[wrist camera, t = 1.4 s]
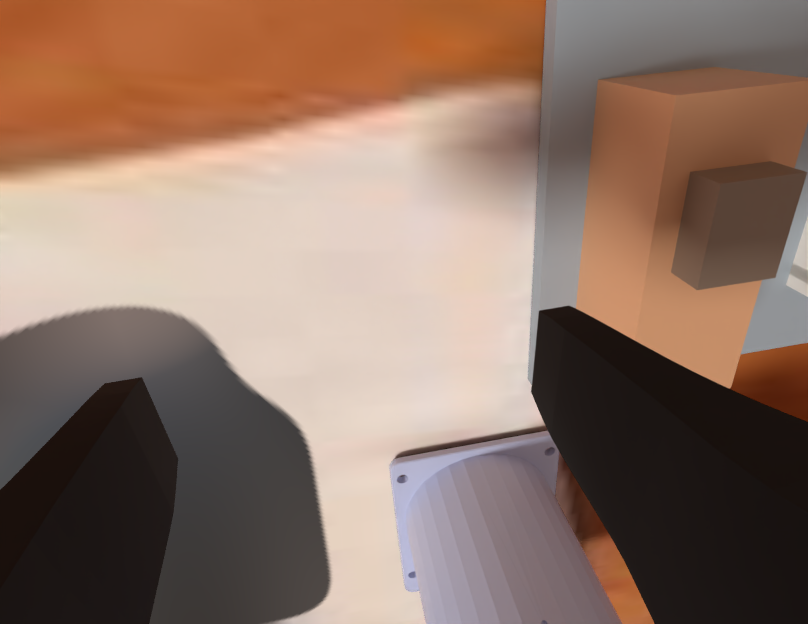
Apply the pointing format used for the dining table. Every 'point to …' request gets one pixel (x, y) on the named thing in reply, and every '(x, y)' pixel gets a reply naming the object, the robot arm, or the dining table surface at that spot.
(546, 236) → the jig
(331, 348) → the dining table surface
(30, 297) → the dining table surface
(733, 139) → the wooden block
